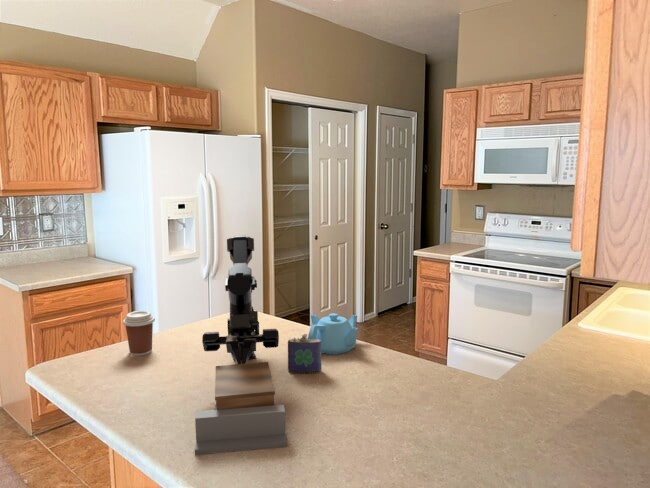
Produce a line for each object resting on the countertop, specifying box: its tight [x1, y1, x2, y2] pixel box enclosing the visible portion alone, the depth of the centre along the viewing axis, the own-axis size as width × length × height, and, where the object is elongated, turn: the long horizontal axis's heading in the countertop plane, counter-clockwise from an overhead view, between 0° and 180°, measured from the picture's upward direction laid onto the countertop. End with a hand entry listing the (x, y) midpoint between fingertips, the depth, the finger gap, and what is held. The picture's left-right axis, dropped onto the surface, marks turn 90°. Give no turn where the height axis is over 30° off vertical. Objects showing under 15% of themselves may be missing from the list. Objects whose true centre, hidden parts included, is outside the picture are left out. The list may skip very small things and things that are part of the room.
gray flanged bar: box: [194, 404, 288, 455], centre depth 102 cm, size 6×18×6 cm, turn 99°
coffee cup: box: [122, 310, 156, 357], centre depth 153 cm, size 9×9×12 cm
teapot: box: [307, 312, 359, 355], centre depth 156 cm, size 15×15×11 cm
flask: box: [287, 333, 322, 375], centre depth 137 cm, size 9×3×11 cm, turn 88°
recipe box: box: [214, 361, 276, 410], centre depth 113 cm, size 16×12×9 cm
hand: (241, 372), depth 122 cm, fingers closed
